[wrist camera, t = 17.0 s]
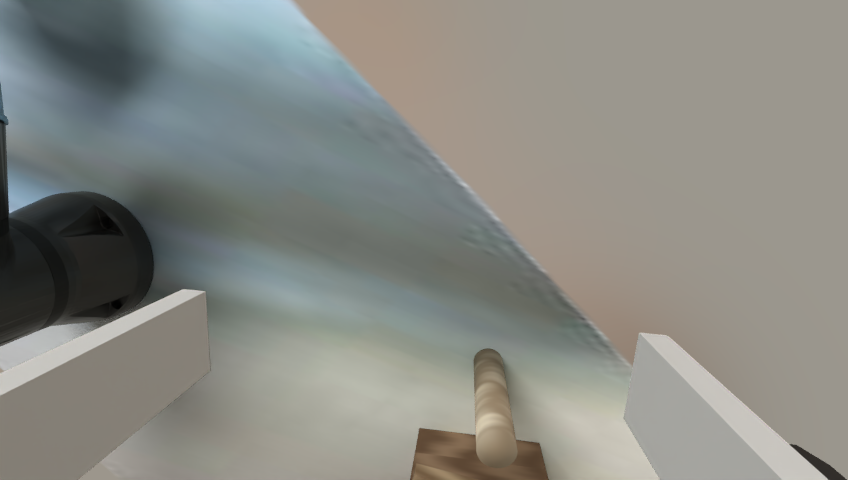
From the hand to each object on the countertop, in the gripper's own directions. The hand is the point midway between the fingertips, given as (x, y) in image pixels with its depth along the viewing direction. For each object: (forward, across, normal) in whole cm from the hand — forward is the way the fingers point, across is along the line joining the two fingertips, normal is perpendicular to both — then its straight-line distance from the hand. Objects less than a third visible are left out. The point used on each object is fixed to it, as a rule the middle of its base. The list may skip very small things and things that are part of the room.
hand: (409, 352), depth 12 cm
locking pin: (+31, +5, -16) cm, 35 cm away
